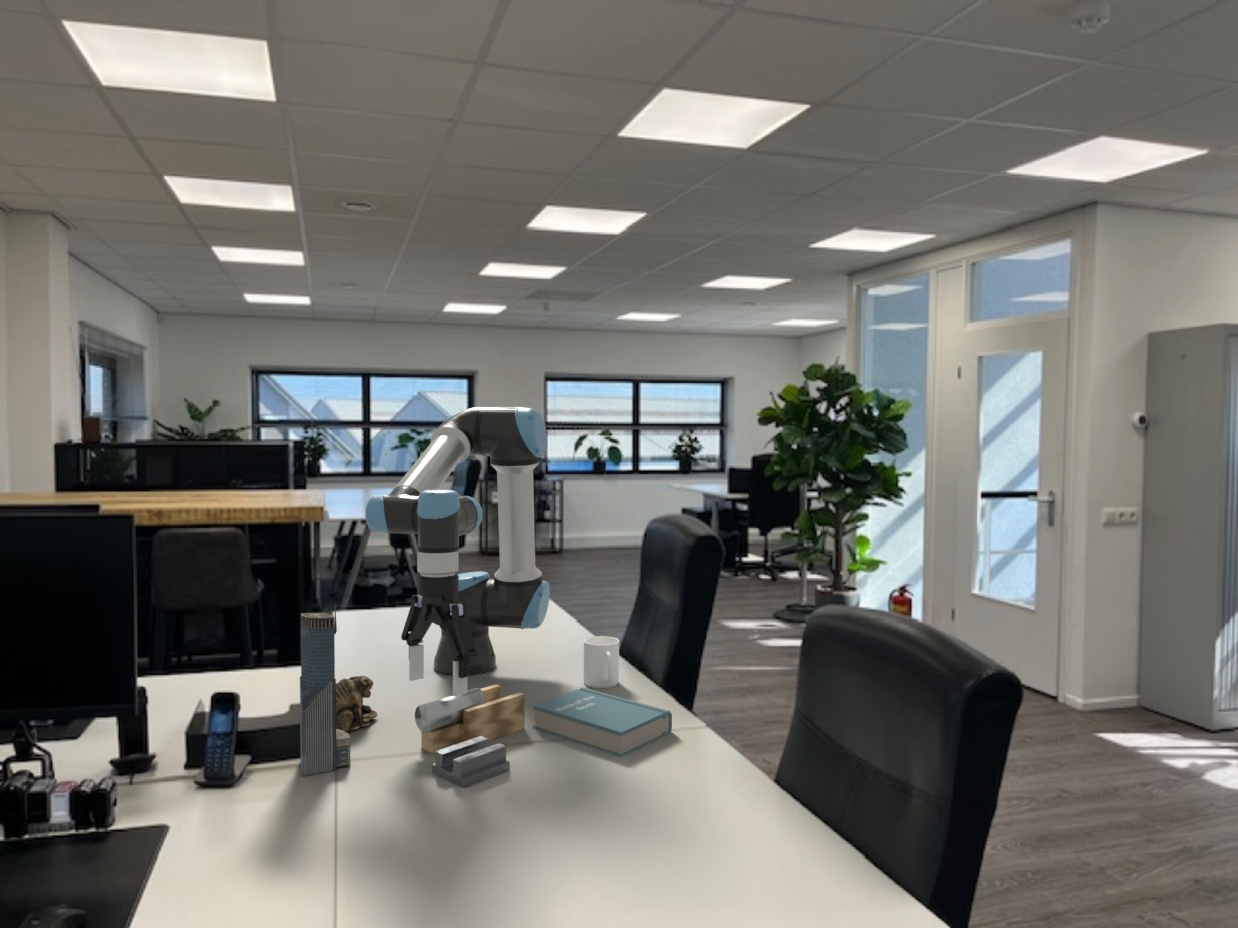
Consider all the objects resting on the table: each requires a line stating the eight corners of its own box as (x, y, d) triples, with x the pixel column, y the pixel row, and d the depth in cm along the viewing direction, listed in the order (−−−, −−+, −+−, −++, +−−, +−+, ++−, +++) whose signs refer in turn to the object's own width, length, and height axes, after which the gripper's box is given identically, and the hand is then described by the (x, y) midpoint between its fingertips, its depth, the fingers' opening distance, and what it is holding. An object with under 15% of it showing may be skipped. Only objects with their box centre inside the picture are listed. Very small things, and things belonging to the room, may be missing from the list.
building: (360, 760, 152) (359, 595, 150) (327, 780, 143) (325, 605, 141) (313, 752, 155) (311, 591, 153) (278, 771, 146) (276, 600, 145)
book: (532, 729, 169) (532, 705, 169) (585, 708, 181) (585, 686, 181) (621, 758, 155) (621, 732, 154) (671, 734, 167) (672, 709, 167)
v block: (463, 787, 141) (463, 764, 141) (431, 772, 147) (431, 749, 147) (509, 769, 148) (509, 747, 148) (477, 755, 154) (477, 734, 154)
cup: (612, 676, 203) (613, 634, 203) (628, 691, 192) (628, 647, 191) (579, 679, 201) (579, 637, 200) (593, 695, 189) (593, 650, 189)
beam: (495, 717, 174) (495, 684, 174) (524, 728, 168) (524, 694, 168) (413, 744, 159) (413, 708, 159) (441, 757, 153) (441, 719, 153)
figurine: (388, 723, 171) (387, 674, 170) (321, 742, 160) (321, 690, 160) (372, 715, 175) (371, 668, 174) (306, 734, 164) (305, 683, 164)
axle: (470, 709, 167) (470, 685, 166) (486, 716, 163) (486, 691, 163) (414, 728, 157) (414, 702, 156) (430, 735, 154) (430, 709, 153)
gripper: (497, 579, 151) (496, 696, 152) (416, 563, 168) (415, 669, 168) (463, 584, 145) (462, 706, 146) (383, 567, 162) (382, 677, 163)
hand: (437, 686), depth 157 cm, fingers open, 13 cm apart
